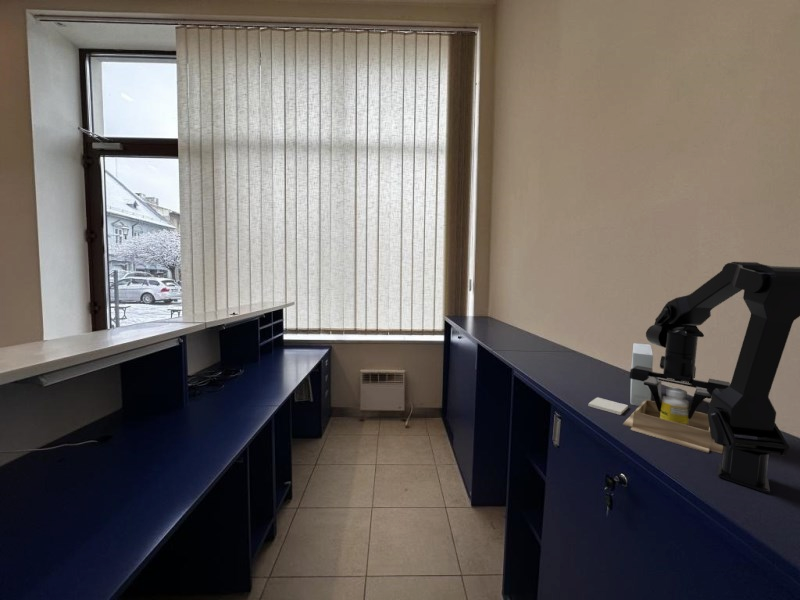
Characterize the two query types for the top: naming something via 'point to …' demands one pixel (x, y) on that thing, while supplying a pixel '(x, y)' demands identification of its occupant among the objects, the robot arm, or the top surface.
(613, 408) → the tile
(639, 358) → the skincare box
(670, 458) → the top surface
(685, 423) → the supplement bottle
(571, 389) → the top surface
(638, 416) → the light brown piece
